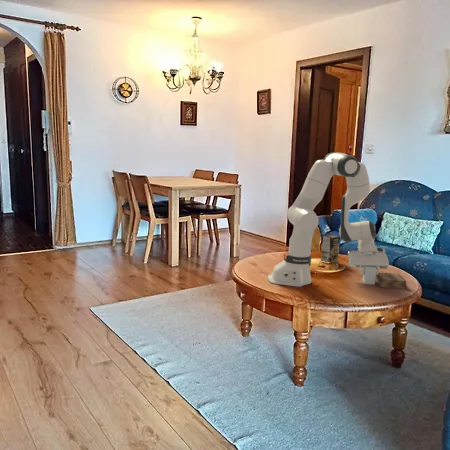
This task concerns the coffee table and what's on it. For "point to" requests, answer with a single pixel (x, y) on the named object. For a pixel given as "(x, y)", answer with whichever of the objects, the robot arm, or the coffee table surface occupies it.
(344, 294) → the coffee table surface
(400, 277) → the walnut plinth
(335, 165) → the robot arm
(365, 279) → the light grey block
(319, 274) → the coffee table surface
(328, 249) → the coffee box
